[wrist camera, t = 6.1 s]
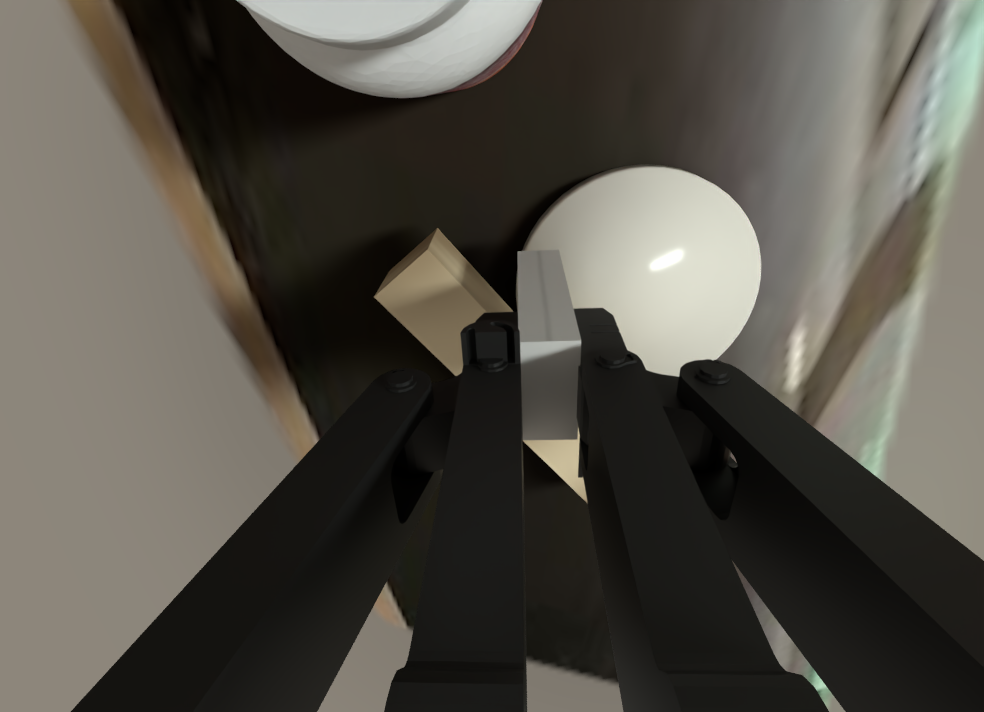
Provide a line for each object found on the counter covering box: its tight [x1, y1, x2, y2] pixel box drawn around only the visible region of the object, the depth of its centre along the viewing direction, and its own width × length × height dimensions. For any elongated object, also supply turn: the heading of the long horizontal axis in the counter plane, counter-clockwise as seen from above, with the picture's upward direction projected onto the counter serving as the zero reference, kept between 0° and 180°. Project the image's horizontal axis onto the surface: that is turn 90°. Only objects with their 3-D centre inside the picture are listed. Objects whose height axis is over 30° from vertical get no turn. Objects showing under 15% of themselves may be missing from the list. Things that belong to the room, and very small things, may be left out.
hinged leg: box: [374, 228, 588, 503], centre depth 20 cm, size 15×3×4 cm, turn 41°
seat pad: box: [516, 164, 761, 377], centre depth 19 cm, size 9×9×1 cm
